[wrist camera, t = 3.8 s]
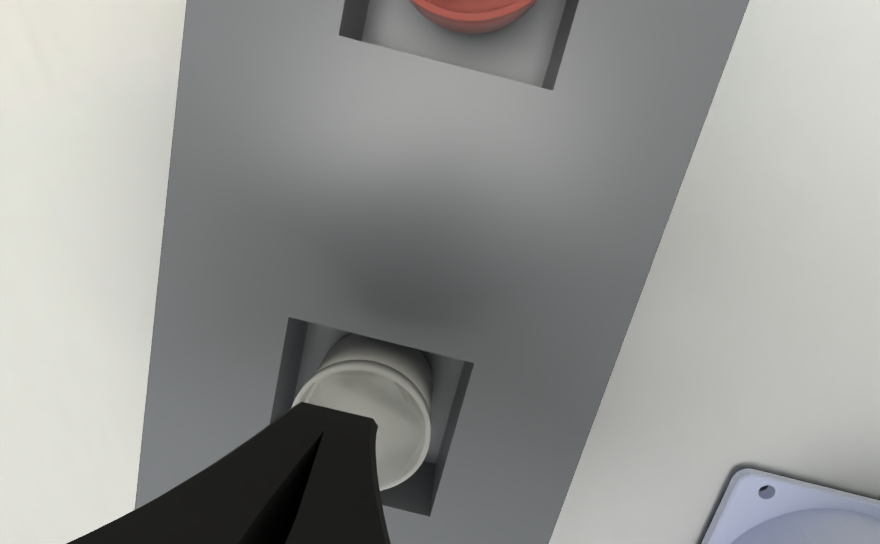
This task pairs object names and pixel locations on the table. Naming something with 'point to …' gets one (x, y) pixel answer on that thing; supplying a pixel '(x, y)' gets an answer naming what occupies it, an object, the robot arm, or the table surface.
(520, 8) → the red button
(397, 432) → the sample container
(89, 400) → the table surface
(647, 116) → the console
